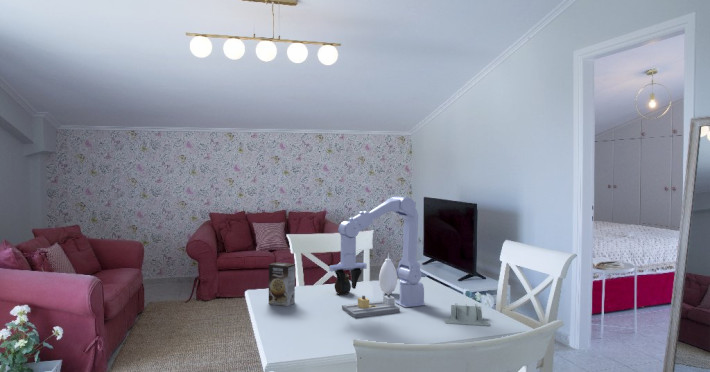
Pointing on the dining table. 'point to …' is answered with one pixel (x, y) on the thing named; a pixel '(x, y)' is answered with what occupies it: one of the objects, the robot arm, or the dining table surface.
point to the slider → (363, 302)
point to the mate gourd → (346, 286)
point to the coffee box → (281, 283)
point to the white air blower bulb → (388, 276)
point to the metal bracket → (466, 316)
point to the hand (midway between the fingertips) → (348, 288)
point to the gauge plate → (373, 308)
